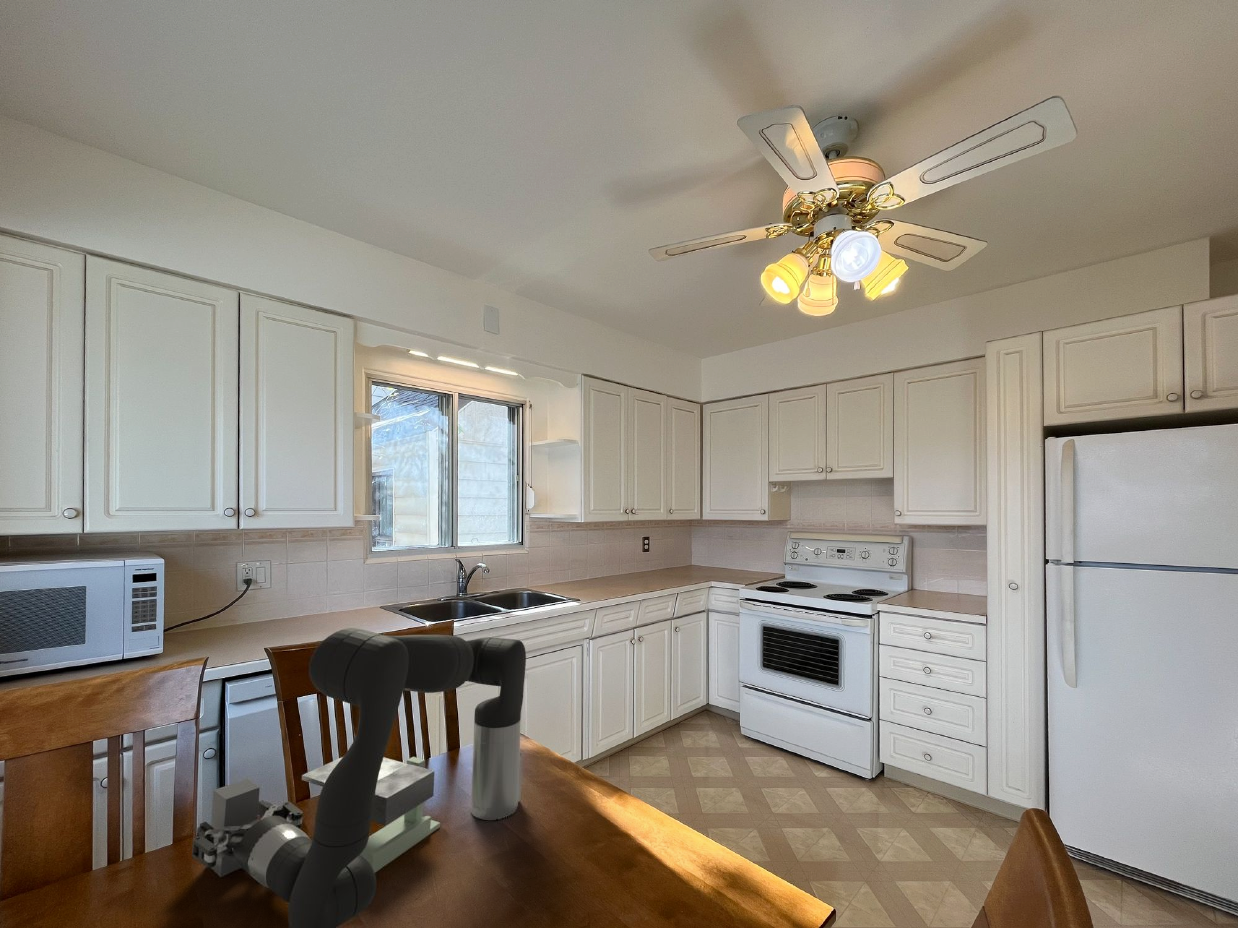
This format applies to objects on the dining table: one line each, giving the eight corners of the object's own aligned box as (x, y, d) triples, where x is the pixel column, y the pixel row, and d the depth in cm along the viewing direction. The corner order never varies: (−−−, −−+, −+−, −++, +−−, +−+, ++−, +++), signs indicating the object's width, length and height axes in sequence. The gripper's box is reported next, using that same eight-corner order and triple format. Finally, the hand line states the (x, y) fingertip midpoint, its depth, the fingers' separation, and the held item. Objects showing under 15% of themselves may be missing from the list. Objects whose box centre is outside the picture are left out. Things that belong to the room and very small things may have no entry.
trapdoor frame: (359, 883, 90) (363, 805, 91) (325, 868, 93) (329, 794, 94) (439, 826, 106) (442, 761, 107) (408, 816, 110) (410, 753, 111)
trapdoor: (381, 827, 93) (383, 799, 93) (299, 798, 101) (301, 773, 102) (436, 794, 104) (437, 769, 104) (357, 770, 112) (359, 747, 113)
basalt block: (208, 865, 94) (213, 789, 95) (241, 850, 98) (246, 778, 99) (220, 876, 91) (226, 799, 92) (254, 861, 95) (259, 787, 96)
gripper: (324, 806, 92) (277, 778, 102) (225, 848, 81) (182, 811, 90) (321, 855, 92) (274, 821, 101) (221, 904, 80) (178, 861, 89)
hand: (231, 817), depth 96 cm, fingers open, 8 cm apart
